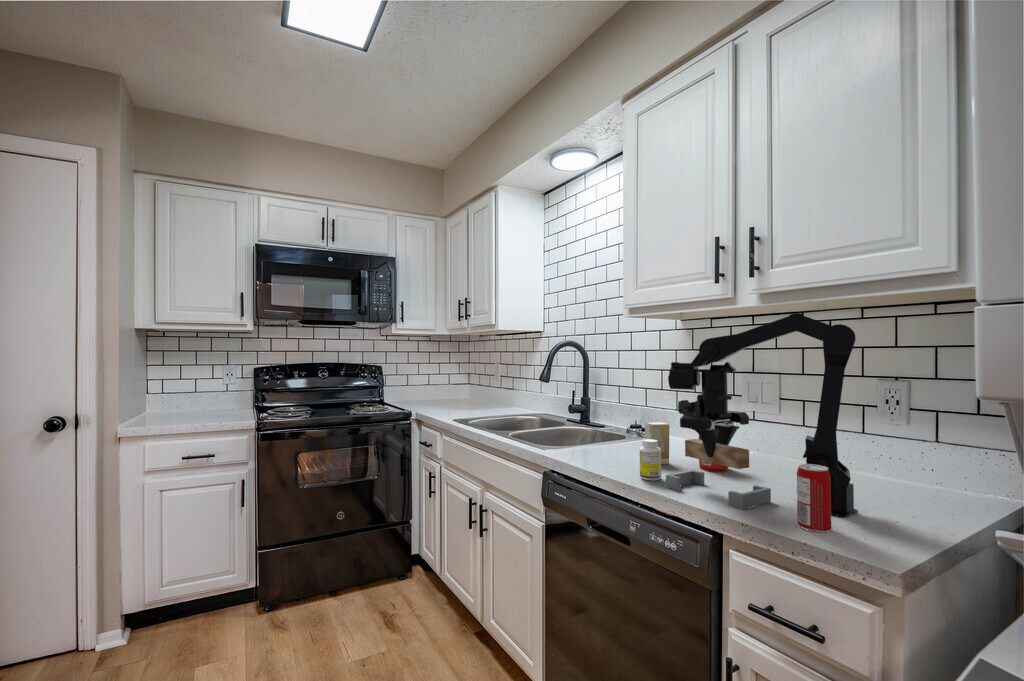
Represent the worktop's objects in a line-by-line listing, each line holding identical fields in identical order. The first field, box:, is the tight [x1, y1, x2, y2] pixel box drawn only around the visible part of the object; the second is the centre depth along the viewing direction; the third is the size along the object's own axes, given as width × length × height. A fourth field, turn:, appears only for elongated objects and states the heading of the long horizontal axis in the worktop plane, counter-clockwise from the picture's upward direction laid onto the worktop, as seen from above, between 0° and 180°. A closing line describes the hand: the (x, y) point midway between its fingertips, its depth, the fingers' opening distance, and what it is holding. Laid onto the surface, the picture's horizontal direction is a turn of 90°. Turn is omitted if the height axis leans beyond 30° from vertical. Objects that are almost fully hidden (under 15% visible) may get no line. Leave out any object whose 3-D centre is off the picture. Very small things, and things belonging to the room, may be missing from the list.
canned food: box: [698, 434, 730, 473], centre depth 143 cm, size 8×8×11 cm
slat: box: [684, 438, 750, 470], centre depth 118 cm, size 16×4×4 cm, turn 25°
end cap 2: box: [727, 484, 772, 510], centre depth 110 cm, size 4×10×3 cm, turn 122°
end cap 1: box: [665, 469, 705, 491], centre depth 125 cm, size 4×10×3 cm, turn 122°
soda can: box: [796, 463, 832, 533], centre depth 95 cm, size 6×6×12 cm
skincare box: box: [644, 421, 670, 465], centre depth 151 cm, size 6×4×12 cm
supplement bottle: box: [639, 438, 662, 482], centre depth 132 cm, size 6×6×10 cm
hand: (715, 456), depth 118 cm, fingers closed on slat, 4 cm apart
